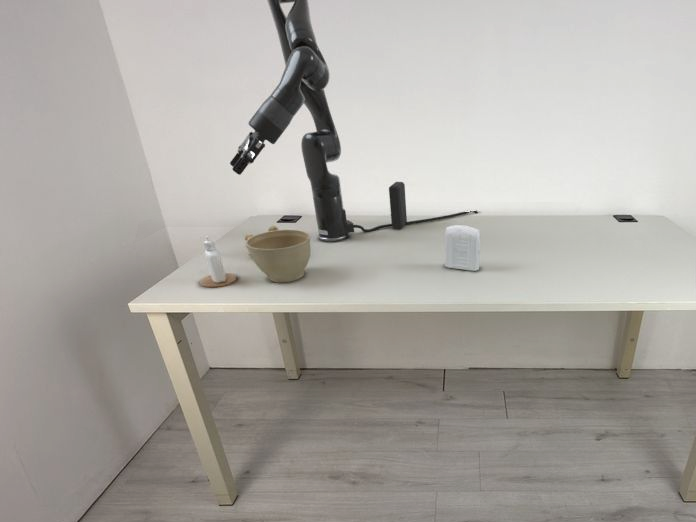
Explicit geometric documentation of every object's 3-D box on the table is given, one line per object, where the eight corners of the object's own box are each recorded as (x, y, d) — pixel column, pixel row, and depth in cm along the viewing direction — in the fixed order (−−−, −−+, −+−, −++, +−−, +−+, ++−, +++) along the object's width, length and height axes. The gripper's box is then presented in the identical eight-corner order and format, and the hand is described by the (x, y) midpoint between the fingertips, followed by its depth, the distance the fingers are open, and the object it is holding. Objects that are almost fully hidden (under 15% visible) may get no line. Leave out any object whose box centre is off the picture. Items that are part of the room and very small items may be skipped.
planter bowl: (254, 270, 135) (245, 233, 129) (312, 263, 140) (305, 227, 135) (256, 292, 122) (246, 251, 116) (320, 282, 127) (313, 243, 122)
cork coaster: (235, 272, 133) (234, 271, 133) (237, 283, 127) (237, 282, 126) (200, 278, 130) (199, 276, 130) (200, 289, 123) (200, 288, 123)
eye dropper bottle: (231, 275, 131) (219, 233, 124) (224, 283, 126) (212, 239, 120) (214, 276, 130) (202, 233, 124) (207, 284, 125) (194, 240, 119)
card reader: (397, 222, 177) (394, 181, 169) (407, 222, 177) (405, 181, 169) (390, 229, 169) (387, 186, 162) (401, 230, 169) (398, 186, 161)
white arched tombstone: (481, 267, 138) (482, 225, 131) (477, 272, 134) (477, 229, 128) (448, 263, 140) (447, 222, 134) (443, 268, 137) (442, 226, 130)
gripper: (288, 134, 120) (250, 184, 121) (280, 127, 130) (244, 174, 132) (261, 111, 115) (222, 164, 116) (255, 106, 125) (219, 154, 127)
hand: (234, 169), depth 124 cm, fingers open, 8 cm apart
